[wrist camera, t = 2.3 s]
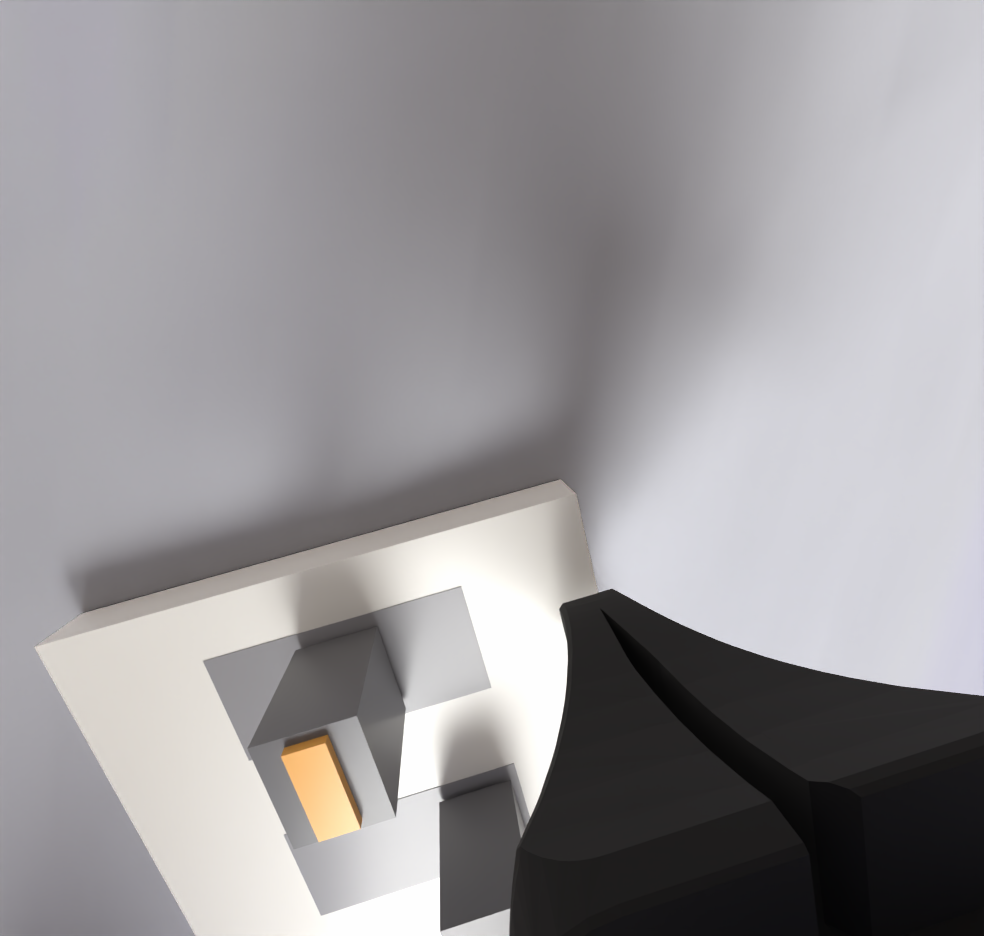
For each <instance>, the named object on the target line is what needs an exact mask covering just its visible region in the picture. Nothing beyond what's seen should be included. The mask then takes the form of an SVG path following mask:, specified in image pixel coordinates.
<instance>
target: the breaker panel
mask: <svg viewBox="0 0 984 936" xmlns="http://www.w3.org/2000/svg"><path fill="white" fill-rule="evenodd" d="M596 593H598V590H597V585H596V581H595V576H594V572H593V567H592V563H591V558H590V554H589V549H588V545H587V540H586V536H585V531H584V527H583V522H582V517H581V513H580V508H579V504H578V499H577V495H576V493H575V492H574V491H573V490H572V489H571V488H570V487H568V486H567V485H566V484H565V483H564V482H563V481H562V480H561V479H559V480H556V481H552V482H549V483H545V484H542V485H538V486H535V487H531V488H527V489H524V490H520V491H517V492H513V493H510V494H506V495H502V496H499V497H495V498H492V499H488V500H485V501H481V502H477V503H474V504H470V505H467V506H463V507H460V508H456V509H453V510H449V511H445V512H442V513H438V514H435V515H431V516H428V517H424V518H420V519H417V520H413V521H410V522H406V523H403V524H399V525H395V526H392V527H388V528H385V529H381V530H378V531H374V532H370V533H367V534H363V535H360V536H356V537H353V538H349V539H346V540H342V541H338V542H335V543H331V544H328V545H324V546H321V547H317V548H313V549H310V550H306V551H303V552H299V553H296V554H292V555H288V556H285V557H281V558H278V559H274V560H271V561H267V562H264V563H260V564H256V565H253V566H249V567H246V568H242V569H239V570H235V571H231V572H228V573H224V574H221V575H217V576H214V577H210V578H206V579H203V580H199V581H196V582H192V583H189V584H185V585H181V586H178V587H174V588H171V589H167V590H164V591H160V592H157V593H153V594H149V595H146V596H142V597H139V598H135V599H132V600H128V601H124V602H121V603H117V604H114V605H110V606H107V607H103V608H99V609H96V610H92V611H89V612H85V613H82V614H80V615H79V616H77V617H76V618H75V619H73V620H72V621H70V622H69V623H67V624H66V625H65V626H63V627H62V628H60V629H59V630H58V631H56V632H55V633H53V634H52V635H50V636H49V637H48V638H46V639H45V640H43V641H42V642H41V643H39V644H38V645H36V646H35V647H34V648H35V650H36V651H37V653H38V655H39V657H40V659H41V660H42V662H43V664H44V666H45V668H46V669H47V671H48V673H49V675H50V676H51V678H52V680H53V682H54V684H55V685H56V687H57V689H58V691H59V693H60V694H61V696H62V698H63V700H64V702H65V703H66V705H67V707H68V709H69V710H70V712H71V714H72V716H73V718H74V719H75V721H76V723H77V725H78V727H79V728H80V730H81V732H82V734H83V736H84V737H85V739H86V741H87V743H88V744H89V746H90V748H91V750H92V752H93V753H94V755H95V757H96V759H97V761H98V762H99V764H100V766H101V768H102V769H103V771H104V773H105V775H106V777H107V778H108V780H109V782H110V784H111V786H112V787H113V789H114V791H115V793H116V795H117V796H118V798H119V800H120V802H121V803H122V805H123V807H124V809H125V811H126V812H127V814H128V816H129V818H130V820H131V821H132V823H133V825H134V827H135V829H136V830H137V832H138V834H139V836H140V837H141V839H142V841H143V843H144V845H145V846H146V848H147V850H148V852H149V854H150V855H151V857H152V859H153V861H154V862H155V864H156V866H157V868H158V870H159V871H160V873H161V875H162V877H163V879H164V880H165V882H166V884H167V886H168V888H169V889H170V891H171V893H172V895H173V896H174V898H175V900H176V902H177V904H178V905H179V907H180V909H181V911H182V913H183V914H184V916H185V918H186V920H187V922H188V923H189V925H190V927H191V929H192V930H193V932H194V934H195V936H509V924H510V905H511V893H512V882H513V873H514V864H515V856H516V849H517V846H518V844H519V842H520V840H521V837H522V835H523V833H524V831H525V828H526V826H527V824H528V822H529V819H530V817H531V815H532V813H533V811H534V808H535V806H536V804H537V801H538V798H539V796H540V793H541V790H542V787H543V784H544V781H545V778H546V775H547V772H548V769H549V766H550V763H551V760H552V757H553V754H554V750H555V746H556V742H557V738H558V733H559V729H560V724H561V720H562V714H563V708H564V701H565V694H566V684H567V666H568V650H567V640H566V636H565V632H564V628H563V624H562V620H561V615H560V611H559V608H560V607H561V605H562V603H566V602H569V601H572V600H576V599H579V598H583V597H586V596H589V595H593V594H596ZM373 627H377V628H378V631H379V633H380V636H381V639H382V642H383V645H384V648H385V650H386V653H387V656H388V659H389V662H390V664H391V667H392V670H393V673H394V676H395V679H396V681H397V684H398V687H399V690H400V693H401V696H402V698H403V701H404V704H405V707H406V712H405V723H404V734H403V745H402V756H401V767H400V779H399V790H398V801H397V812H396V818H393V819H390V820H387V821H383V822H380V823H377V824H374V825H371V826H367V827H364V828H361V829H359V830H356V831H353V832H350V833H347V834H343V835H340V836H337V837H334V838H331V839H327V840H324V841H321V842H316V843H313V844H310V845H307V846H304V847H300V848H297V849H293V847H292V845H291V843H290V840H289V838H288V836H287V834H286V832H285V830H284V827H283V825H282V823H281V821H280V819H279V817H278V814H277V812H276V810H275V808H274V806H273V804H272V801H271V799H270V797H269V795H268V793H267V791H266V788H265V786H264V784H263V782H262V780H261V778H260V775H259V773H258V771H257V769H256V767H255V765H254V762H253V760H252V758H251V756H250V754H249V752H248V749H247V748H248V746H249V744H250V742H251V740H252V738H253V736H254V734H255V732H256V730H257V728H258V726H259V724H260V722H261V720H262V718H263V716H264V713H265V711H266V709H267V707H268V705H269V703H270V701H271V699H272V697H273V695H274V693H275V691H276V689H277V687H278V685H279V683H280V681H281V679H282V677H283V675H284V673H285V671H286V669H287V667H288V665H289V663H290V660H291V658H292V656H293V654H294V652H295V650H298V649H301V648H305V647H308V646H311V645H315V644H318V643H322V642H325V641H329V640H332V639H335V638H339V637H342V636H346V635H349V634H353V633H356V632H359V631H363V630H366V629H370V628H373Z"/></svg>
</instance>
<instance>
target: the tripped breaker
mask: <svg viewBox="0 0 984 936" xmlns="http://www.w3.org/2000/svg"><path fill="white" fill-rule="evenodd" d="M405 712H406V707H405V704H404V701H403V698H402V696H401V693H400V690H399V687H398V684H397V681H396V679H395V676H394V673H393V670H392V667H391V664H390V662H389V659H388V656H387V653H386V650H385V648H384V645H383V642H382V639H381V636H380V633H379V631H378V628H377V627H373V628H370V629H366V630H363V631H359V632H356V633H353V634H349V635H346V636H342V637H339V638H335V639H332V640H329V641H325V642H322V643H318V644H315V645H311V646H308V647H305V648H301V649H298V650H295V652H294V654H293V656H292V658H291V660H290V663H289V665H288V667H287V669H286V671H285V673H284V675H283V677H282V679H281V681H280V683H279V685H278V687H277V689H276V691H275V693H274V695H273V697H272V699H271V701H270V703H269V705H268V707H267V709H266V711H265V713H264V716H263V718H262V720H261V722H260V724H259V726H258V728H257V730H256V732H255V734H254V736H253V738H252V740H251V742H250V744H249V746H248V748H247V749H248V752H249V754H250V756H251V758H252V760H253V762H254V765H255V767H256V769H257V771H258V773H259V775H260V778H261V780H262V782H263V784H264V786H265V788H266V791H267V793H268V795H269V797H270V799H271V801H272V804H273V806H274V808H275V810H276V812H277V814H278V817H279V819H280V821H281V823H282V825H283V827H284V830H285V832H286V834H287V836H288V838H289V840H290V843H291V845H292V847H293V849H297V848H300V847H304V846H307V845H310V844H313V843H316V842H321V841H324V840H327V839H331V838H334V837H337V836H340V835H343V834H347V833H350V832H353V831H356V830H359V829H361V828H364V827H367V826H371V825H374V824H377V823H380V822H383V821H387V820H390V819H393V818H396V812H397V801H398V790H399V779H400V767H401V756H402V745H403V734H404V723H405Z"/></svg>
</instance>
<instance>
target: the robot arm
mask: <svg viewBox="0 0 984 936" xmlns="http://www.w3.org/2000/svg"><path fill="white" fill-rule="evenodd" d="M559 611H560V615H561V620H562V624H563V628H564V632H565V636H566V640H567V650H568V666H567V684H566V694H565V701H564V708H563V714H562V720H561V724H560V729H559V733H558V738H557V742H556V746H555V750H554V754H553V757H552V760H551V763H550V766H549V769H548V772H547V775H546V778H545V781H544V784H543V787H542V790H541V793H540V796H539V798H538V801H537V804H536V806H535V808H534V811H533V813H532V815H531V817H530V819H529V822H528V824H527V826H526V828H525V831H524V833H523V835H522V837H521V840H520V842H519V844H518V846H517V849H516V856H515V864H514V873H513V882H512V893H511V905H510V924H509V936H984V696H979V695H970V694H961V693H953V692H944V691H935V690H927V689H918V688H909V687H901V686H895V685H889V684H883V683H877V682H871V681H866V680H860V679H854V678H849V677H844V676H839V675H835V674H830V673H825V672H821V671H817V670H813V669H809V668H805V667H801V666H797V665H793V664H789V663H785V662H781V661H778V660H774V659H771V658H767V657H764V656H761V655H758V654H755V653H752V652H749V651H746V650H743V649H740V648H737V647H734V646H731V645H729V644H726V643H723V642H721V641H718V640H716V639H713V638H711V637H708V636H706V635H704V634H701V633H699V632H697V631H694V630H692V629H690V628H687V627H685V626H683V625H681V624H679V623H677V622H675V621H672V620H670V619H668V618H666V617H664V616H662V615H660V614H658V613H656V612H655V611H653V610H651V609H649V608H647V607H645V606H643V605H641V604H639V603H638V602H636V601H634V600H632V599H630V598H628V597H627V596H625V595H623V594H621V593H619V592H617V591H615V590H613V589H610V590H606V591H603V592H600V593H596V594H593V595H589V596H586V597H583V598H579V599H576V600H572V601H569V602H566V603H562V605H561V607H560V608H559Z"/></svg>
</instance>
